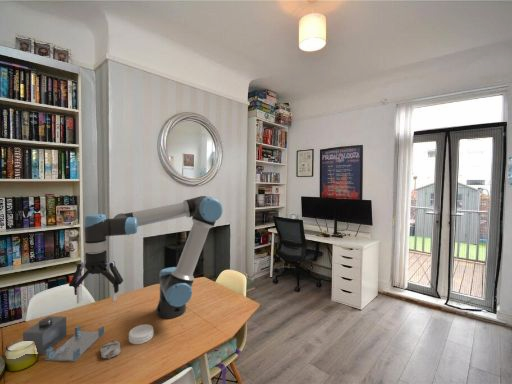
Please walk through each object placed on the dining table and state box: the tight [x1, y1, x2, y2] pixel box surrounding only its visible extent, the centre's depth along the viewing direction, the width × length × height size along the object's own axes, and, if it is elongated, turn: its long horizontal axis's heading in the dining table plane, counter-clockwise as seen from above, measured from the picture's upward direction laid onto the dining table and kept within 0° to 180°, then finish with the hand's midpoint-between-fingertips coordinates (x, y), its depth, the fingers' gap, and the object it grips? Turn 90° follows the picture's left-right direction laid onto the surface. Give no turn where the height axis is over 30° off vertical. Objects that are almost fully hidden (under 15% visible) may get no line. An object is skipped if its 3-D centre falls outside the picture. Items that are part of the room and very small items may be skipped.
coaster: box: [128, 323, 154, 345], centre depth 113 cm, size 10×10×4 cm
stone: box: [99, 340, 122, 359], centre depth 103 cm, size 10×7×3 cm
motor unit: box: [22, 315, 106, 362], centre depth 107 cm, size 24×18×10 cm
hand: (97, 301), depth 107 cm, fingers open, 13 cm apart
